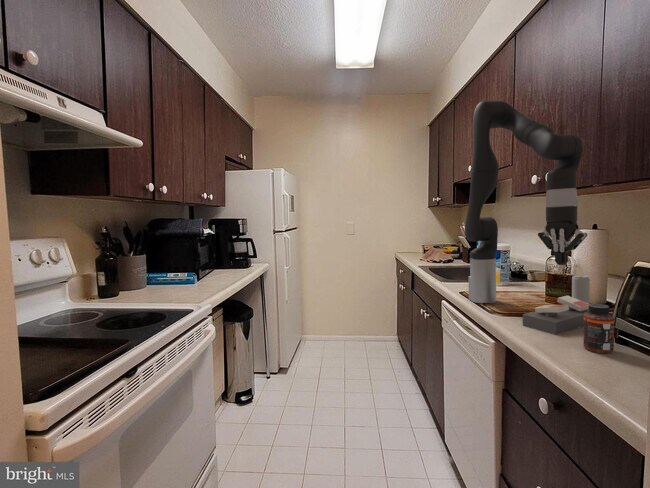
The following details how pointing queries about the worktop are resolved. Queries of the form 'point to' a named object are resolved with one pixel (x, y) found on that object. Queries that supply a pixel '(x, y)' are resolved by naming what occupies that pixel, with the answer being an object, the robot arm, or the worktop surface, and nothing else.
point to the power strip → (555, 320)
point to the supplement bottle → (599, 329)
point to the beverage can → (581, 288)
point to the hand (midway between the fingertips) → (561, 264)
